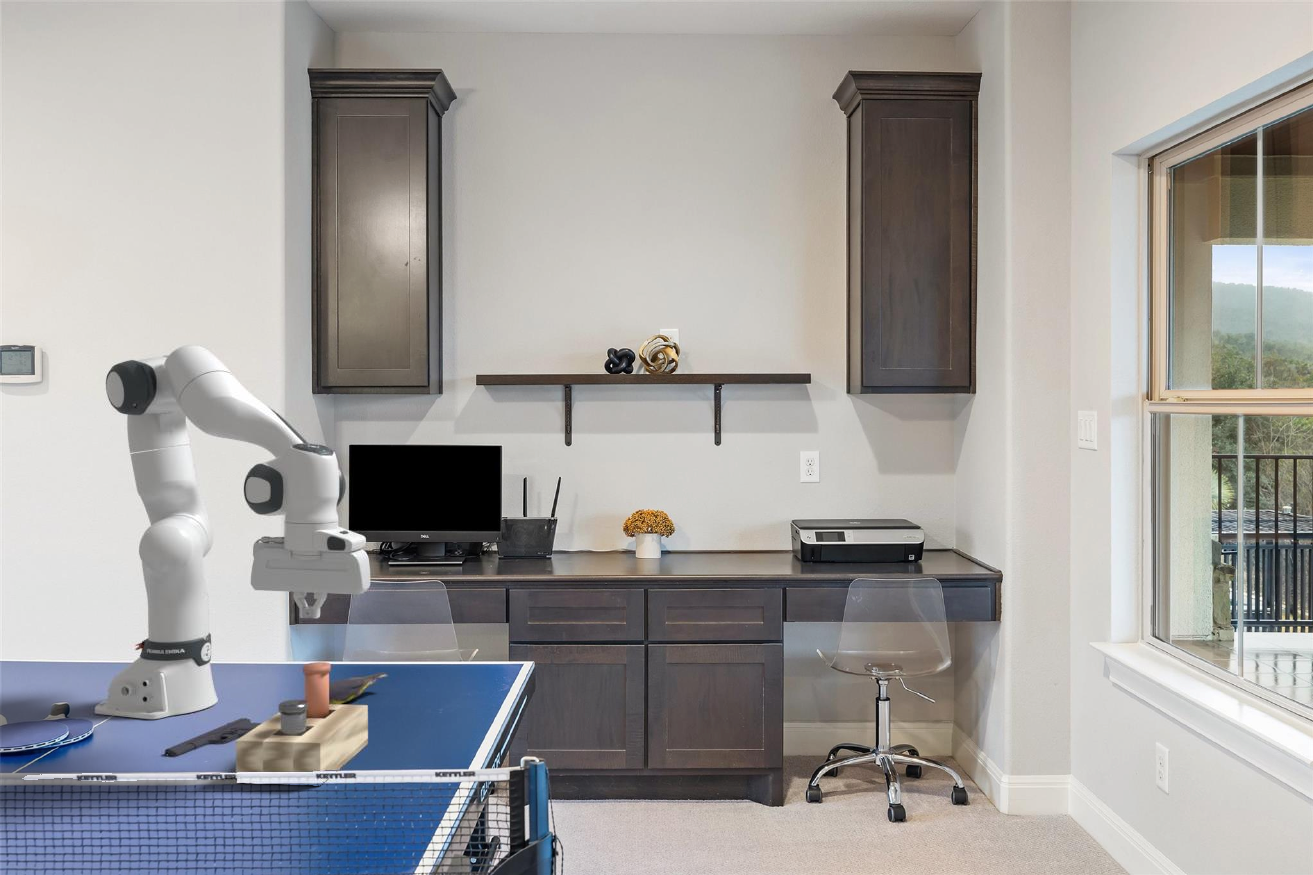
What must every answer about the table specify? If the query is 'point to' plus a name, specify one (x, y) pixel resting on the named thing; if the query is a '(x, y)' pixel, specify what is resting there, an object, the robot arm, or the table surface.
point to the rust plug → (317, 689)
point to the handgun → (215, 736)
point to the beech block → (305, 743)
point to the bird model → (350, 687)
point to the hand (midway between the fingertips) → (309, 617)
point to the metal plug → (293, 717)
